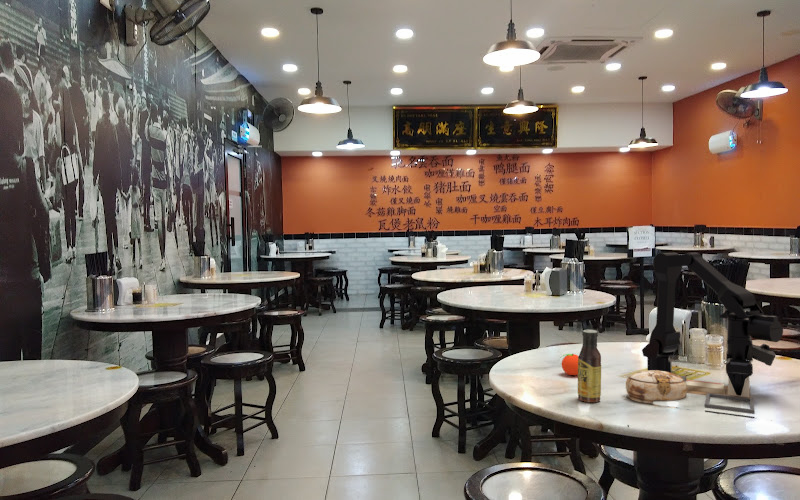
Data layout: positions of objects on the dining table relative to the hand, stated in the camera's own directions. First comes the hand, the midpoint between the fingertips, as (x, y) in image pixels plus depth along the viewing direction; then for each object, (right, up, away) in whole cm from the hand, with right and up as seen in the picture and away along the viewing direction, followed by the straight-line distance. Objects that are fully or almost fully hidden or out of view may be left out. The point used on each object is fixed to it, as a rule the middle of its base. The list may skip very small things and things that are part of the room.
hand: (738, 390), depth 160 cm
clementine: (-39, -2, +27) cm, 47 cm away
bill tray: (-8, -3, -9) cm, 12 cm away
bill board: (-5, -2, +3) cm, 6 cm away
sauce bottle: (-42, -3, 0) cm, 42 cm away
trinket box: (-23, -3, +1) cm, 23 cm away
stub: (0, -1, 0) cm, 1 cm away
